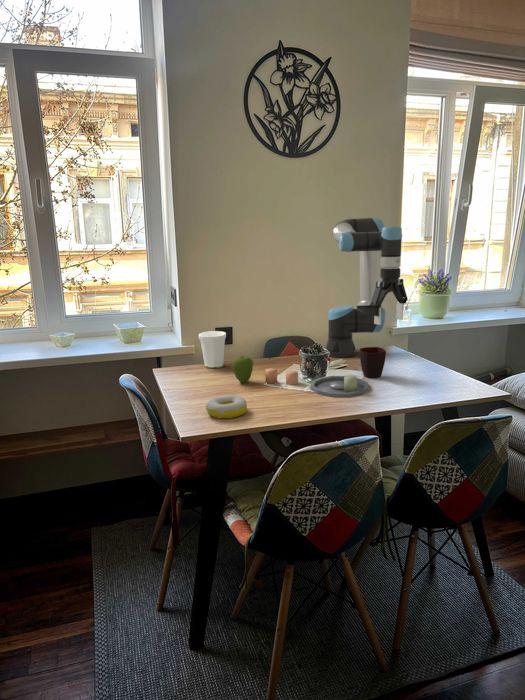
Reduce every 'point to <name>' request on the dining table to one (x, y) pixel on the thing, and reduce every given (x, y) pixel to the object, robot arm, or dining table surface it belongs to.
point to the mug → (372, 361)
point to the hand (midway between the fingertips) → (388, 321)
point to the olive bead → (350, 384)
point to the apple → (243, 368)
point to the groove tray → (336, 386)
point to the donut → (226, 406)
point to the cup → (213, 347)
